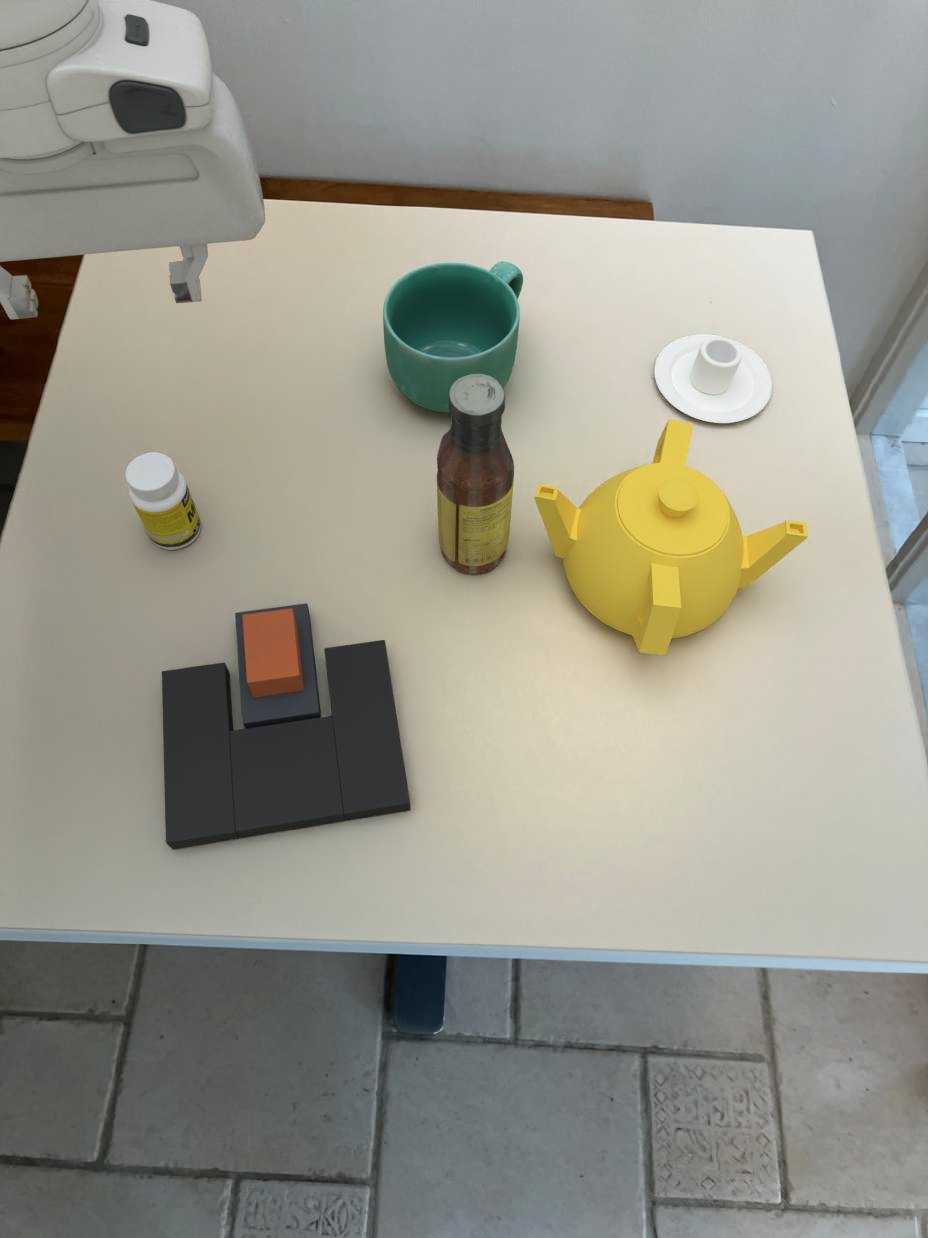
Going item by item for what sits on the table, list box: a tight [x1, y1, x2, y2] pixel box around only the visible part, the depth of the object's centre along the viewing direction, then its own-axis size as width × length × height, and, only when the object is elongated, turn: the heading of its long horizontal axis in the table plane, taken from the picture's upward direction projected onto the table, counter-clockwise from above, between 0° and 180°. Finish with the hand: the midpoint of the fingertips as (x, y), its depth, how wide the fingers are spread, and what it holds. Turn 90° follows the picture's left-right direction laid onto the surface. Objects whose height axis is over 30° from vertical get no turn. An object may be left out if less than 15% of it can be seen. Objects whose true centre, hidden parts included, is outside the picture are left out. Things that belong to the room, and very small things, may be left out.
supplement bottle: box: [125, 451, 202, 551], centre depth 76 cm, size 5×5×8 cm
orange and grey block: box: [234, 603, 322, 729], centre depth 71 cm, size 6×10×5 cm, turn 10°
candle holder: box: [653, 333, 773, 424], centre depth 89 cm, size 12×12×4 cm
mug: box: [382, 260, 524, 414], centre depth 86 cm, size 17×13×10 cm
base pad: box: [161, 639, 411, 850], centre depth 70 cm, size 18×14×2 cm
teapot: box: [534, 418, 809, 656], centre depth 74 cm, size 17×17×12 cm
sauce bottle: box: [436, 374, 515, 575], centre depth 71 cm, size 7×6×20 cm
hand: (108, 303), depth 53 cm, fingers open, 8 cm apart
